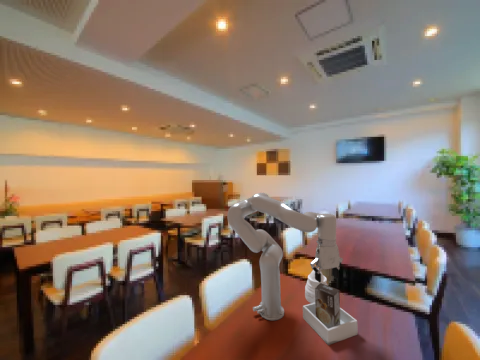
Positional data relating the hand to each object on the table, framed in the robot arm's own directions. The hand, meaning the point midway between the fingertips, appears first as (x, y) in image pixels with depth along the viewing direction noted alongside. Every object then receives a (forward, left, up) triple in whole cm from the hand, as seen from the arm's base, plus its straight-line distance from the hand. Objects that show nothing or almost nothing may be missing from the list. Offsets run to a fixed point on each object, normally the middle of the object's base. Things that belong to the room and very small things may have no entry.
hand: (326, 278), depth 91 cm
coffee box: (0, 0, -21) cm, 21 cm away
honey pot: (+9, +18, -22) cm, 30 cm away
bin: (0, 0, -22) cm, 22 cm away
